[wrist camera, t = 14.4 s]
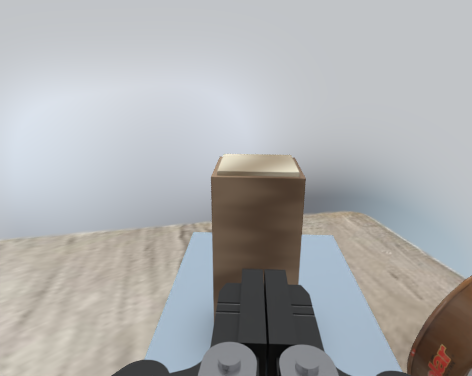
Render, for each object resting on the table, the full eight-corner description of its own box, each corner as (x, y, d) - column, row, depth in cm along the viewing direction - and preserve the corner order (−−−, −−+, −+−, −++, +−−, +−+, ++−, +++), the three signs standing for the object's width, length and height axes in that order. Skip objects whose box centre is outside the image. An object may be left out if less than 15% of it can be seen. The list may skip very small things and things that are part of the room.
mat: (114, 448, 17) (113, 439, 17) (193, 236, 40) (193, 232, 40) (443, 465, 16) (445, 456, 16) (332, 240, 39) (332, 235, 39)
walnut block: (214, 357, 22) (211, 172, 18) (221, 307, 27) (219, 153, 23) (293, 360, 22) (306, 173, 18) (285, 309, 26) (294, 154, 23)
